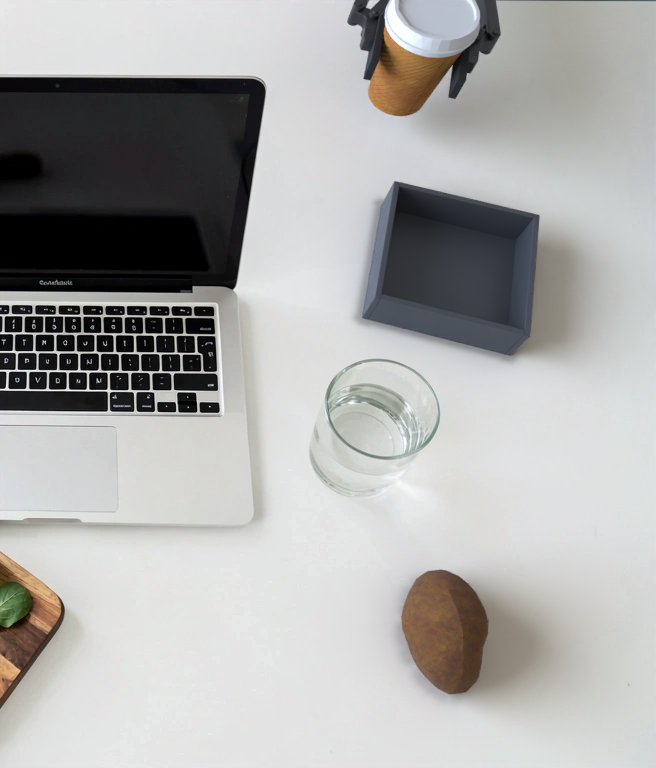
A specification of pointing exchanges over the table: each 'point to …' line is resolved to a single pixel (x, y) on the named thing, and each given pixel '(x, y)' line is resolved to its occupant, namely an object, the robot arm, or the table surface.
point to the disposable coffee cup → (420, 50)
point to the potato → (445, 630)
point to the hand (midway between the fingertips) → (413, 79)
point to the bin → (453, 268)
